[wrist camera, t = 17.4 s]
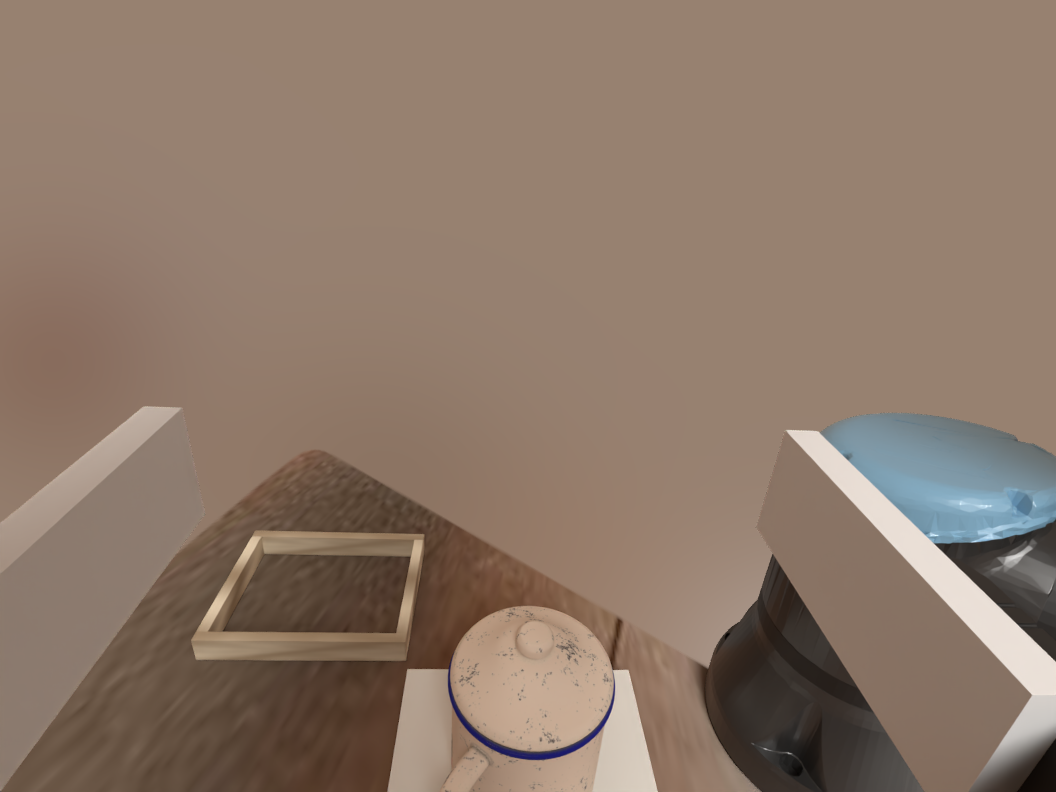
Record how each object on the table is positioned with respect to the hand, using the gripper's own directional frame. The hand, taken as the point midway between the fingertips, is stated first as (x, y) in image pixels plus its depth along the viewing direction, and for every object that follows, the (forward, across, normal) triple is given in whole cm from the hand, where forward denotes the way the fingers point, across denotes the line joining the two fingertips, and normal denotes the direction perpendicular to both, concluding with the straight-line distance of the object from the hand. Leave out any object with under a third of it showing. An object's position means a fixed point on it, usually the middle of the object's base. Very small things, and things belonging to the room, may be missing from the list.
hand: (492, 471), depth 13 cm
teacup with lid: (+10, +2, -29) cm, 30 cm away
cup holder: (+26, -13, -30) cm, 42 cm away
